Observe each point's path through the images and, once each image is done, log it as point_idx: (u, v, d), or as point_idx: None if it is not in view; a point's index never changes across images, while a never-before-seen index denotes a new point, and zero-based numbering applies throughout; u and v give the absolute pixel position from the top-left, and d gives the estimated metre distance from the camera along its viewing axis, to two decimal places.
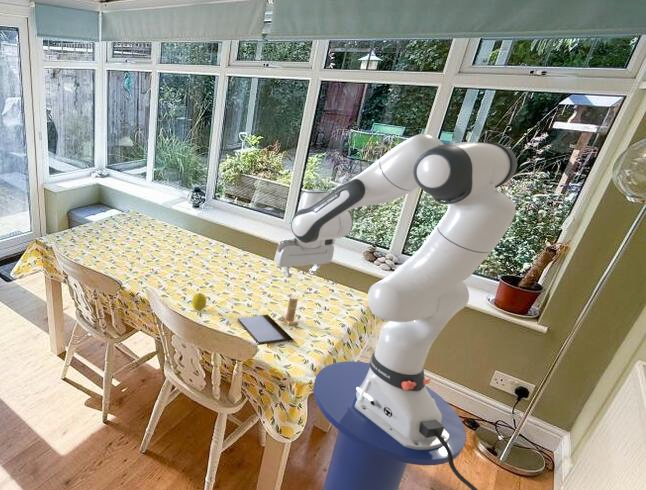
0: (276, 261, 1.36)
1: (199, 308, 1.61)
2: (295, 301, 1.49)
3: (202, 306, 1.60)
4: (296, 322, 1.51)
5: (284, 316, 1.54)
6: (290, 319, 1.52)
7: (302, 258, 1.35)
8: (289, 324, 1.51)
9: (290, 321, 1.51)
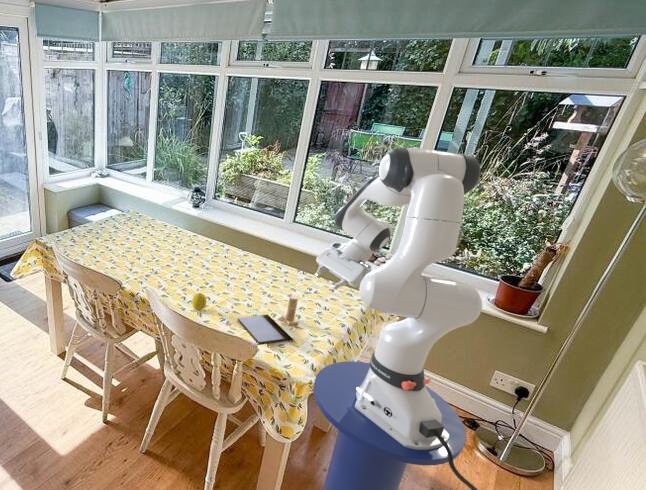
0: (356, 282, 1.42)
1: (199, 308, 1.61)
2: (295, 301, 1.49)
3: (202, 306, 1.60)
4: (296, 322, 1.51)
5: (284, 316, 1.54)
6: (290, 319, 1.52)
7: None
8: (289, 324, 1.51)
9: (290, 321, 1.51)
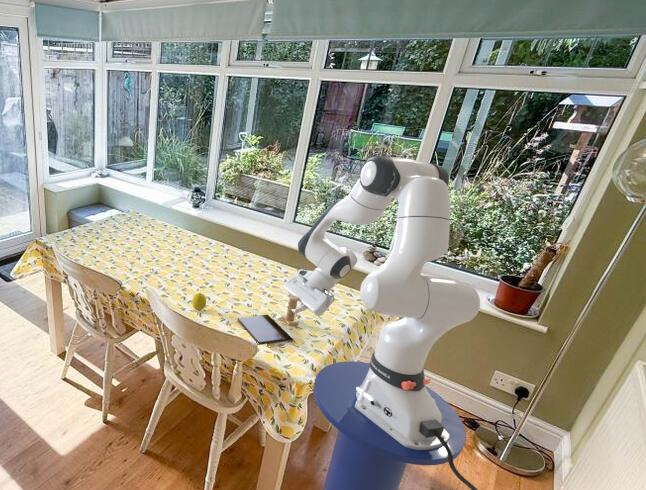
0: (319, 312, 1.42)
1: (199, 308, 1.61)
2: (295, 301, 1.49)
3: (202, 306, 1.60)
4: (296, 322, 1.51)
5: (284, 316, 1.54)
6: (290, 319, 1.52)
7: None
8: (289, 324, 1.51)
9: (290, 321, 1.51)
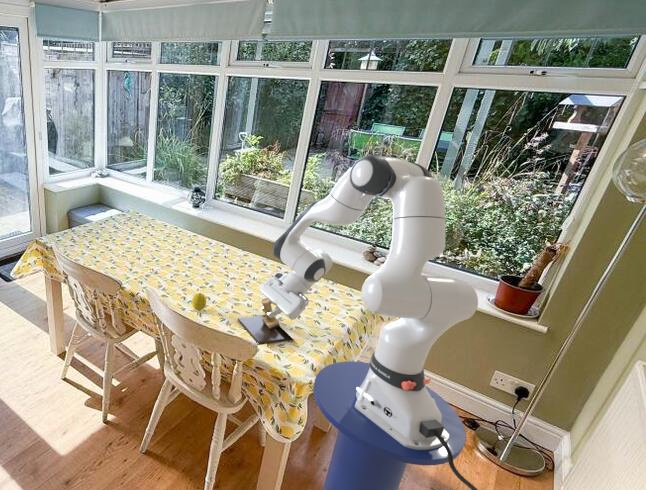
0: (293, 315, 1.40)
1: (199, 308, 1.61)
2: (268, 304, 1.46)
3: (202, 306, 1.60)
4: (277, 322, 1.49)
5: (264, 318, 1.52)
6: (270, 321, 1.50)
7: None
8: (270, 326, 1.49)
9: (270, 323, 1.49)
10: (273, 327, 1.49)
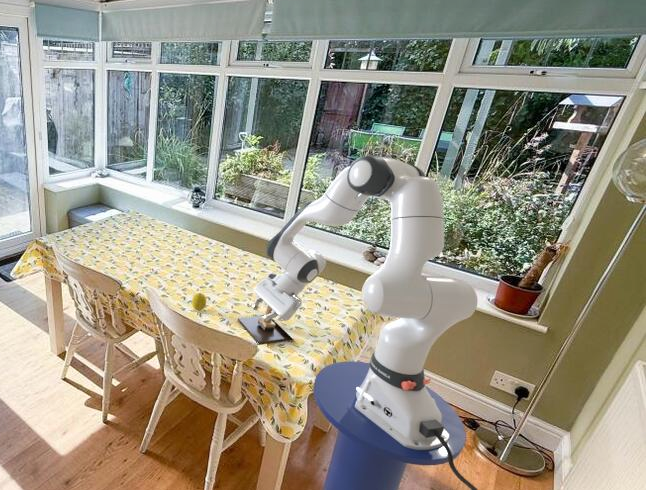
0: (286, 316, 1.39)
1: (199, 308, 1.61)
2: None
3: (202, 306, 1.60)
4: (273, 325, 1.49)
5: (262, 318, 1.52)
6: (267, 321, 1.49)
7: None
8: (266, 326, 1.48)
9: (267, 323, 1.49)
10: (268, 328, 1.49)
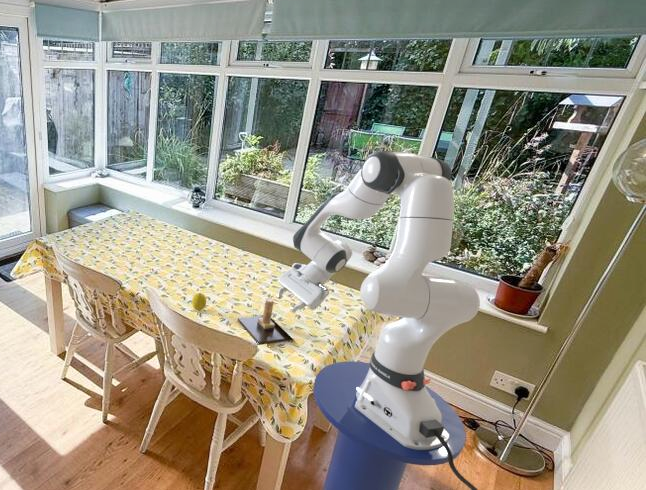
0: (313, 306, 1.40)
1: (199, 308, 1.61)
2: (271, 304, 1.47)
3: (202, 306, 1.60)
4: (272, 325, 1.49)
5: (261, 319, 1.52)
6: (266, 322, 1.49)
7: None
8: (265, 327, 1.48)
9: (266, 324, 1.49)
10: (268, 329, 1.49)
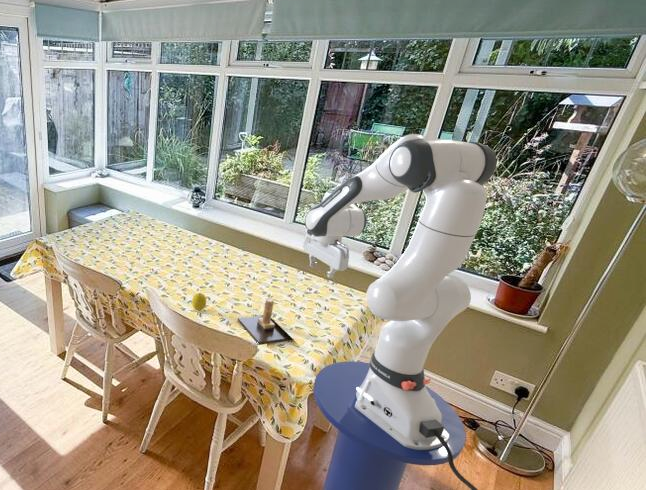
0: (343, 267, 1.37)
1: (199, 308, 1.61)
2: (271, 304, 1.47)
3: (202, 306, 1.60)
4: (272, 325, 1.49)
5: (261, 319, 1.52)
6: (266, 322, 1.49)
7: None
8: (265, 327, 1.48)
9: (266, 324, 1.49)
10: (268, 329, 1.49)
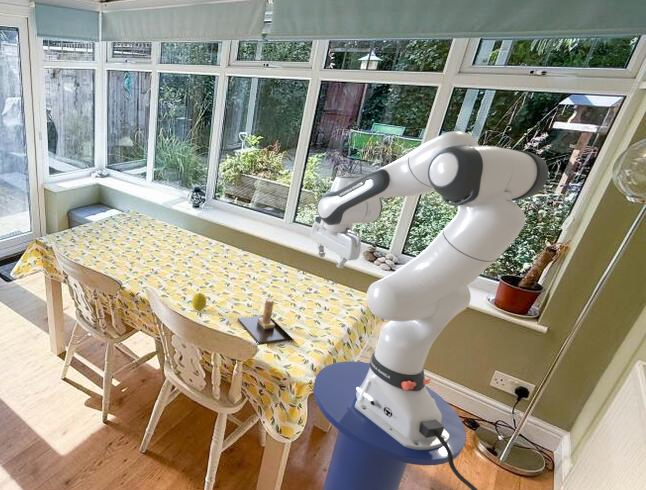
0: (354, 257, 1.29)
1: (199, 308, 1.61)
2: (271, 304, 1.47)
3: (202, 306, 1.60)
4: (272, 325, 1.49)
5: (261, 319, 1.52)
6: (266, 322, 1.49)
7: None
8: (265, 327, 1.48)
9: (266, 324, 1.49)
10: (268, 329, 1.49)
